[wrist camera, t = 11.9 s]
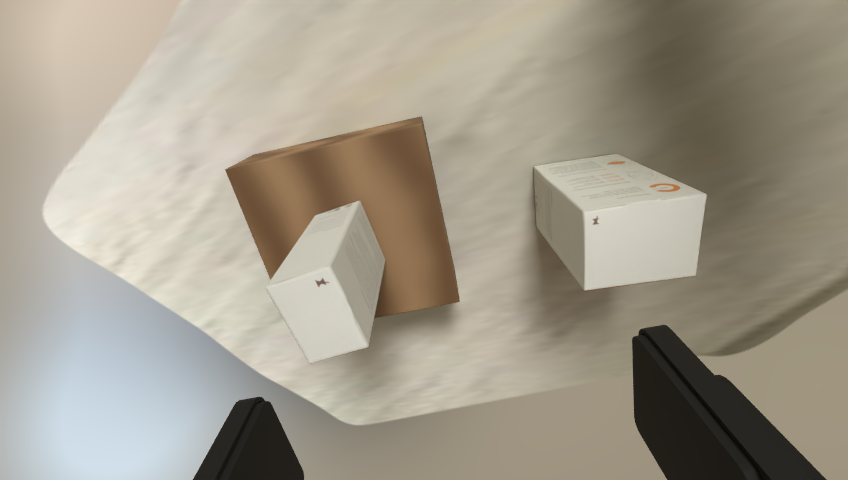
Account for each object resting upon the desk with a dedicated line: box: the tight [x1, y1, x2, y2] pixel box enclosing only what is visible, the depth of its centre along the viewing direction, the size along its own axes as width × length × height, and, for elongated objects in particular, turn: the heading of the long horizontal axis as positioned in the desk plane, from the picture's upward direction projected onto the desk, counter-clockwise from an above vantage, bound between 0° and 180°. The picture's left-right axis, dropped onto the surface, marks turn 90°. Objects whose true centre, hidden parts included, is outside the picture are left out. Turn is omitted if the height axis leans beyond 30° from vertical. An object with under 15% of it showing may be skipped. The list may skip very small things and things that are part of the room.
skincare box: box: [266, 201, 385, 364], centre depth 29 cm, size 6×4×12 cm
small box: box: [534, 154, 707, 291], centre depth 34 cm, size 8×6×13 cm
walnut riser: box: [226, 117, 460, 318], centre depth 38 cm, size 16×16×6 cm
